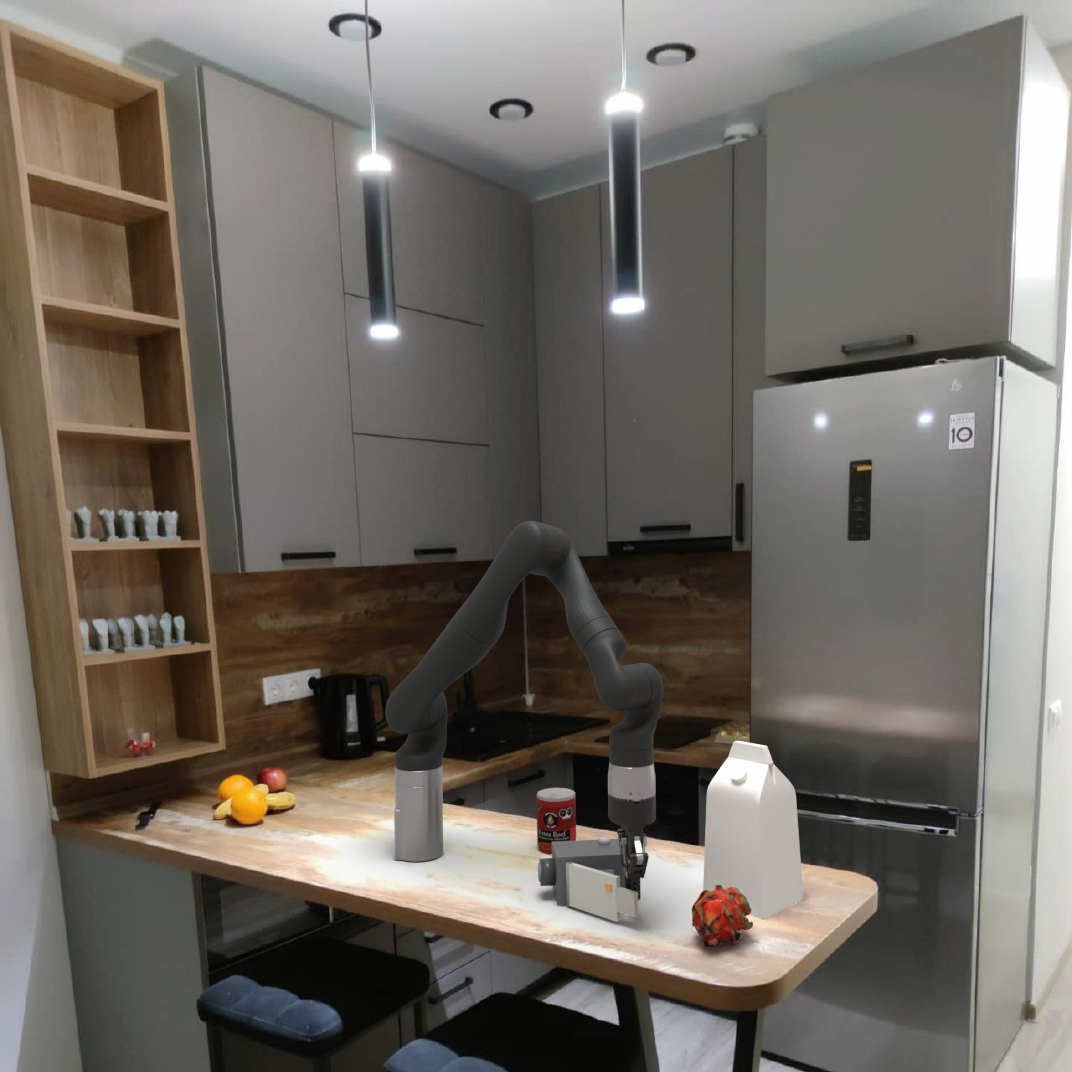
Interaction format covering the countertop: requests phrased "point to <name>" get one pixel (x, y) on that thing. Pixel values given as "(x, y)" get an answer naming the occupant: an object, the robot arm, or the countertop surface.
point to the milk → (753, 831)
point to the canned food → (555, 817)
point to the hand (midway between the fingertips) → (632, 899)
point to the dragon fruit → (721, 915)
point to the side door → (598, 893)
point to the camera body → (579, 862)
